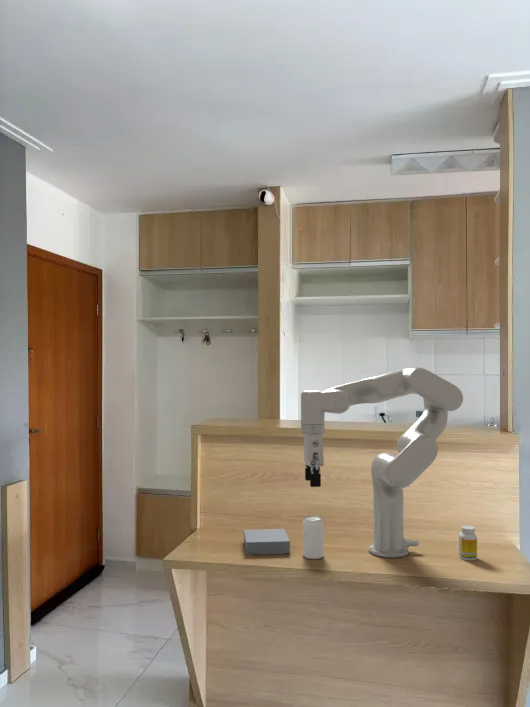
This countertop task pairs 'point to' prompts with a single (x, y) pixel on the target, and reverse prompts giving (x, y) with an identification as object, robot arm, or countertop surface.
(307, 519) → the can
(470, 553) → the supplement bottle
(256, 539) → the base block
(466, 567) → the countertop surface
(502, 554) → the countertop surface
